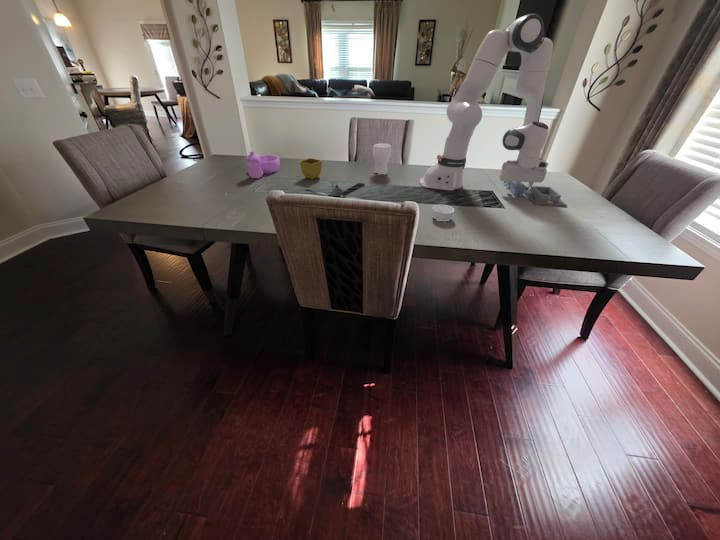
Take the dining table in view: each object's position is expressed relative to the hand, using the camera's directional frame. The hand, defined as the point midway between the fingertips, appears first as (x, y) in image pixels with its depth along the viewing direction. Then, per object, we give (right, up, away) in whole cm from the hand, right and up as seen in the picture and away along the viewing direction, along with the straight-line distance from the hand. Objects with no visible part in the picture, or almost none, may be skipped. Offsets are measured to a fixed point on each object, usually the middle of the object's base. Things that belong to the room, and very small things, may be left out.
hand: (516, 189), depth 140 cm
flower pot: (-105, +11, +16) cm, 107 cm away
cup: (-66, +17, +24) cm, 72 cm away
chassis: (+10, -5, -4) cm, 12 cm away
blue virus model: (+4, +7, +12) cm, 15 cm away
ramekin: (-44, -18, -22) cm, 53 cm away
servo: (0, -1, +1) cm, 2 cm away
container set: (-134, +16, +22) cm, 137 cm away
